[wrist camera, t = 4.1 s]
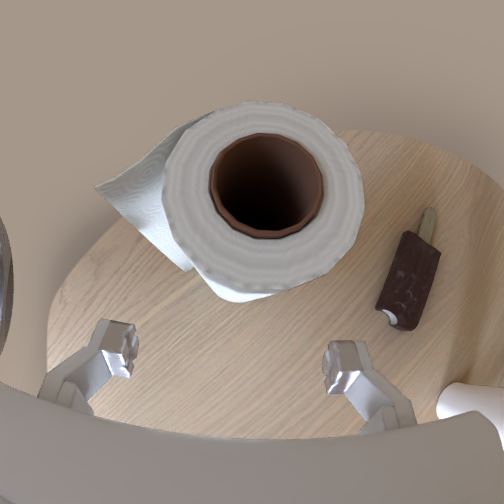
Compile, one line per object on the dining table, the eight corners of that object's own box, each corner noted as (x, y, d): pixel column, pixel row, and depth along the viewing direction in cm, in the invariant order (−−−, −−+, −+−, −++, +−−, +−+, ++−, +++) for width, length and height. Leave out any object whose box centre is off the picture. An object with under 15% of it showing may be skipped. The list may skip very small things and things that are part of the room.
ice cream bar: (412, 199, 32) (370, 315, 29) (419, 195, 31) (378, 315, 28) (442, 221, 32) (406, 334, 29) (450, 218, 31) (414, 335, 28)
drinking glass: (472, 394, 29) (554, 413, 14) (442, 434, 27) (521, 469, 13) (454, 365, 29) (546, 378, 14) (421, 407, 28) (511, 442, 13)
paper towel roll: (281, 264, 30) (396, 168, 9) (245, 315, 28) (299, 337, 7) (220, 221, 30) (216, 57, 9) (184, 271, 29) (90, 184, 8)
